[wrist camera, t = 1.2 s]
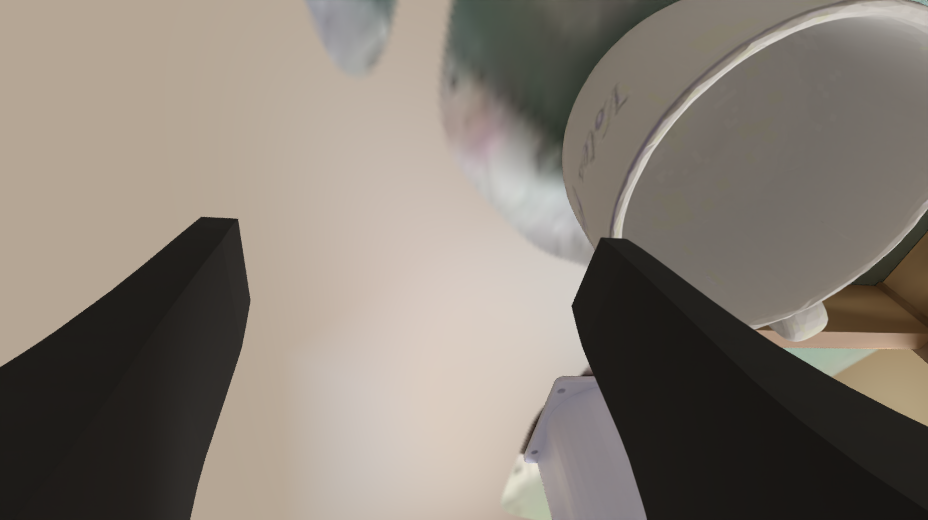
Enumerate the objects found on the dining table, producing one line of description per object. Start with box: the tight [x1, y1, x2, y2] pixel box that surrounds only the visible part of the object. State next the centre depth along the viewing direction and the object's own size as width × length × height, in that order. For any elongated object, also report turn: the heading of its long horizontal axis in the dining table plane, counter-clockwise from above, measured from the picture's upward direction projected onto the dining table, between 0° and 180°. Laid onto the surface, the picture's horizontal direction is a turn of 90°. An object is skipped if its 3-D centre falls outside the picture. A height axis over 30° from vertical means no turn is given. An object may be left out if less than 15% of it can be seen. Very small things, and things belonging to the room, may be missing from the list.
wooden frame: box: [754, 232, 928, 363], centre depth 21 cm, size 18×16×6 cm
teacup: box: [562, 0, 928, 342], centre depth 18 cm, size 14×11×8 cm
